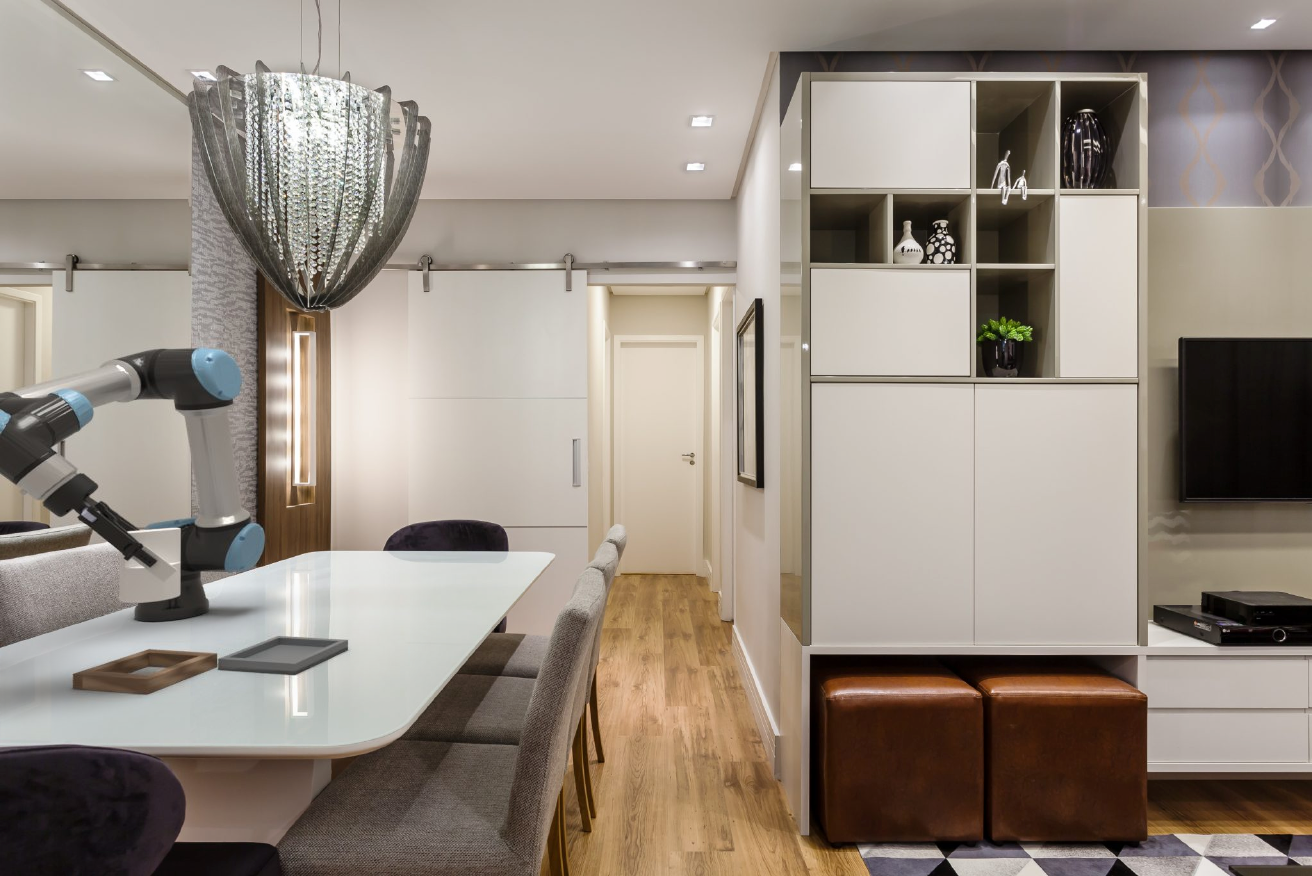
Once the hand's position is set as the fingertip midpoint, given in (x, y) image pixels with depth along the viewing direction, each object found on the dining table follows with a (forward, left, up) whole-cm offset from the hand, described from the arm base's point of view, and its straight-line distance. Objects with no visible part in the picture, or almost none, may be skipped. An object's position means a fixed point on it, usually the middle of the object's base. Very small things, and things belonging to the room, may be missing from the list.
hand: (172, 571), depth 132 cm
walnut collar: (+2, -3, -19) cm, 19 cm away
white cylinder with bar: (+2, -2, -4) cm, 6 cm away
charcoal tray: (-12, +14, -19) cm, 26 cm away
